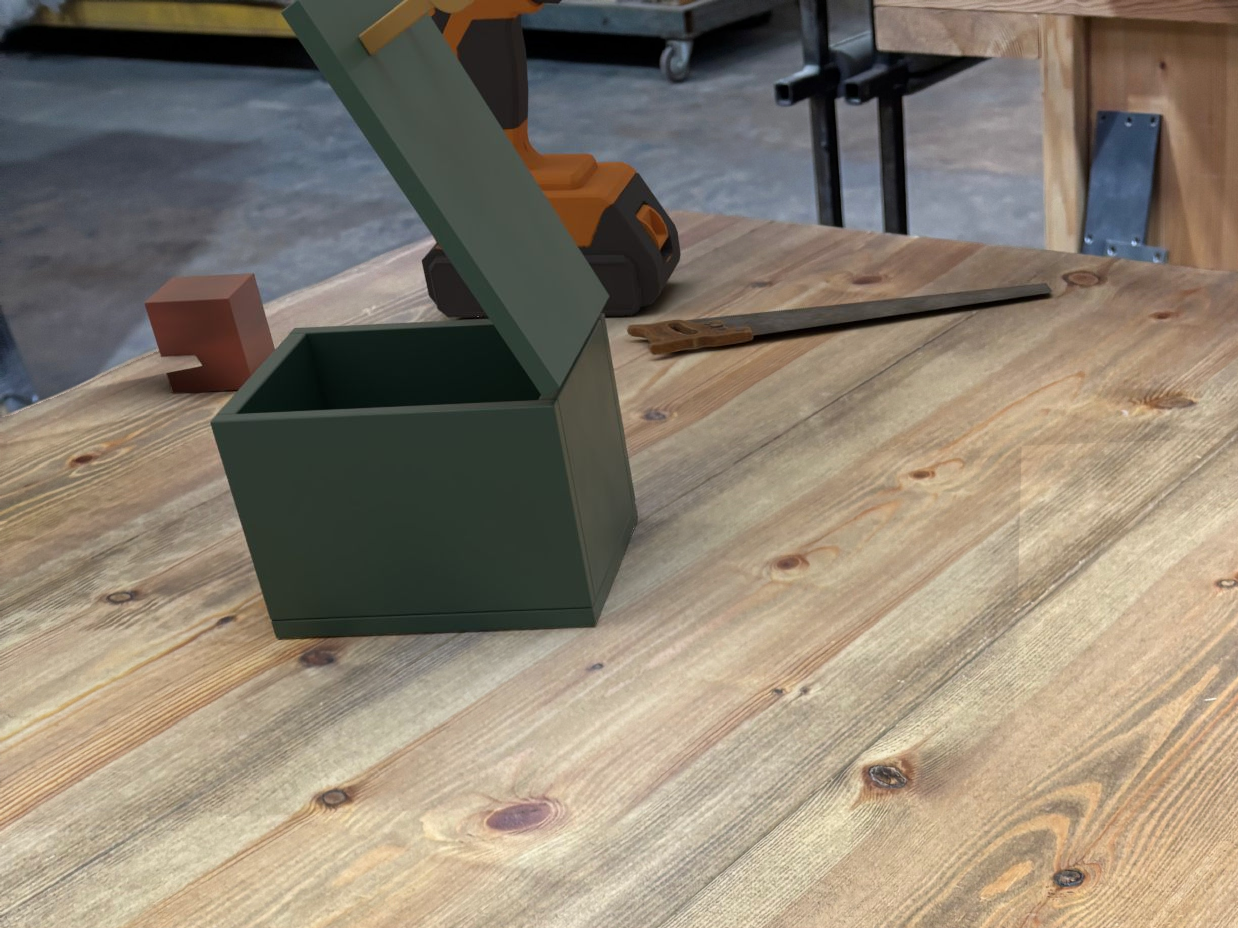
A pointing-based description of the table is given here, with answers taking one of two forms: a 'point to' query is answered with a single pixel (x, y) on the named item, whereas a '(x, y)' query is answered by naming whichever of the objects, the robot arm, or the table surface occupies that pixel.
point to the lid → (457, 172)
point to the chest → (427, 481)
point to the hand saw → (806, 318)
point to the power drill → (556, 174)
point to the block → (211, 329)
